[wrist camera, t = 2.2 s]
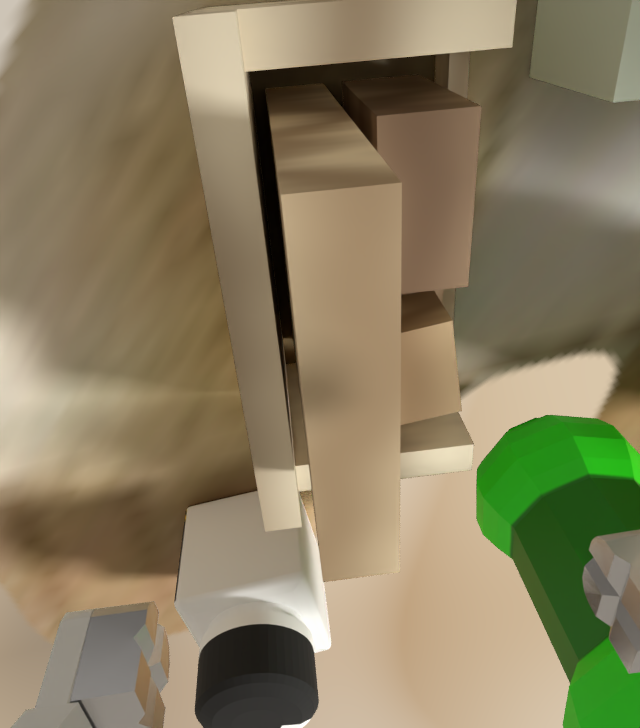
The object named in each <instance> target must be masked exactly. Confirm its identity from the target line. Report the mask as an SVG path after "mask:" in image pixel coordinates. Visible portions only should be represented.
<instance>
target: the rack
mask: <svg viewBox="0 0 640 728" xmlns="http://www.w3.org/2000/svg"><path fill="white" fill-rule="evenodd" d="M516 4H517V0H286V1H275V2H263V3H251V4H240V5H228V6H217V7H205V8H200V9H196V10H193V11H190V12H187V13H184V14H180V15H177V16H174V17H172V19H173V25H174V30H175V36H176V41H177V47H178V52H179V58H180V63H181V69H182V74H183V80H184V86H185V91H186V97H187V102H188V108H189V113H190V119H191V124H192V130H193V135H194V141H195V146H196V152H197V157H198V163H199V168H200V174H201V180H202V185H203V191H204V196H205V202H206V207H207V213H208V218H209V224H210V229H211V235H212V240H213V246H214V251H215V257H216V262H217V268H218V274H219V279H220V285H221V290H222V296H223V301H224V307H225V312H226V318H227V323H228V329H229V334H230V340H231V345H232V351H233V356H234V362H235V368H236V373H237V379H238V384H239V390H240V395H241V401H242V406H243V412H244V417H245V423H246V428H247V434H248V439H249V445H250V450H251V456H252V462H253V467H254V473H255V478H256V484H257V489H258V495H259V500H260V506H261V511H262V517H263V522H264V528H265V532H267V531H275V530H283V529H290V528H298V527H302V523H301V512H300V502H299V492H300V491H308V490H312V489H311V480H310V472H309V464H308V456H307V448H306V439H305V431H304V423H303V415H302V407H301V399H300V390H299V382H298V374H297V366H296V363H293V364H286V362H285V354H284V346H283V338H282V330H281V322H280V314H279V306H278V297H277V289H276V281H275V273H274V265H273V257H272V249H271V241H270V233H269V225H268V217H267V209H266V201H265V192H264V184H263V176H262V168H261V160H260V152H259V144H258V136H257V128H256V120H255V112H254V104H253V96H252V87H251V79H250V71H259V70H270V69H281V68H292V67H303V66H314V65H325V64H336V63H347V62H358V61H369V60H379V59H390V58H401V57H412V56H423V55H434V54H435V83H436V84H438V85H440V86H442V87H444V88H446V89H448V90H450V91H452V92H454V93H456V94H458V95H460V96H462V97H464V98H466V99H467V97H468V81H469V64H470V51H478V50H489V49H500V48H511V47H512V45H513V35H514V24H515V14H516ZM455 291H456V288H451V289H443V306H444V308H445V309H446V311H447V313H448V314H449V316H450V317H451V319H452V321H453V324H454V308H455ZM473 450H474V443H473V441H472V439H471V437H470V435H469V433H468V431H467V429H466V427H465V425H464V423H463V421H462V419H461V417H460V415H459V413H458V412H455V413H451V414H446V415H442V416H438V417H433V418H429V419H425V420H421V421H416V422H412V423H408V424H404V425H401V428H400V479H404V478H412V477H420V476H428V475H436V474H444V473H452V472H459V471H468V470H472V461H473Z"/></svg>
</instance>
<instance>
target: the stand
mask: <svg viewBox="0 0 640 728" xmlns="http://www.w3.org/2000/svg"><path fill="white" fill-rule="evenodd" d="M529 77H530V78H534V79H537V80H540V81H543V82H547V83H550V84H553V85H556V86H560V87H563V88H566V89H570V90H573V91H576V92H579V93H583V94H586V95H589V96H593V97H596V98H599V99H602V100H606V101H609V102H612V103H615V102H625V101H636V100H640V0H538V5H537V14H536V22H535V31H534V40H533V49H532V58H531V67H530V75H529Z"/></svg>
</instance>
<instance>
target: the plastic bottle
mask: <svg viewBox="0 0 640 728" xmlns="http://www.w3.org/2000/svg"><path fill="white" fill-rule="evenodd" d="M477 521H478V524H479V526H480V528H481V531H482V533H483V535H484V536H485V537H486V538H487V539H488V540H490V541H491V542H492V543H493V544H494V545H495V546H496V547H497V548H498V549H500V550H501V551H503V552H504V553H505V554H506V555H508V556H509V557H510V558H512V559H513V561H514V563H515V565H516V567H517V569H518V571H519V574H520V576H521V578H522V580H523V582H524V584H525V587H526V588H527V591H528V593H529V595H530V597H531V599H532V601H533V604H534V606H535V608H536V610H537V612H538V614H539V617H540V619H541V621H542V623H543V625H544V628H545V630H546V632H547V634H548V636H549V638H550V641H551V643H552V645H553V647H554V649H555V651H556V653H557V656H558V658H559V660H560V662H561V664H562V667H563V669H564V671H565V673H566V675H567V677H568V679H569V682H570V686H569V691H568V697H567V702H566V708H565V714H564V720H563V728H640V672H638V673H630V674H629V673H628V671H627V669H626V668H625V666H624V664H623V663H622V661H621V659H620V657H619V656H618V654H617V652H616V651H615V649H614V647H613V645H612V644H611V642H610V640H609V633H610V626H609V625H608V624H606V623H605V622H603V621H602V620H600V619H599V618H597V617H596V616H595V614H594V612H593V610H592V609H591V607H590V605H589V603H588V600H587V598H586V595H585V592H584V586H583V580H582V576H583V571H584V566H585V565H586V564H587V563H588V562H589V561H590V560H591V559H592V558H593V556H592V554H591V552H590V551H589V548H590V544H591V541H592V540H593V539H594V538H595V537H596V536H602V535H608V534H615V533H621V532H627V531H633V530H639V529H640V454H639V453H638V452H637V451H636V450H635V449H634V448H633V447H632V446H631V445H630V443H629V442H628V441H627V440H626V439H625V438H624V437H623V436H622V435H621V434H620V433H619V431H618V430H617V429H616V428H615V427H614V426H613V425H610V424H608V423H606V422H604V421H601V420H599V419H595V418H582V417H569V416H556V415H545V416H543V417H541V418H534V419H532V420H529V421H527V422H525V423H522V424H520V425H518V426H515V427H513V428H511V429H509V431H508V432H506V433H505V435H504V436H503V437H502V438H501V439H500V441H499V442H498V443H497V444H496V446H494V448H493V449H492V450H491V451H490V452H489V454H488V455H487V456H486V457H485V458H484V460H483V461H482V462H481V464H480V465H479V467H478V469H477Z"/></svg>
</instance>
